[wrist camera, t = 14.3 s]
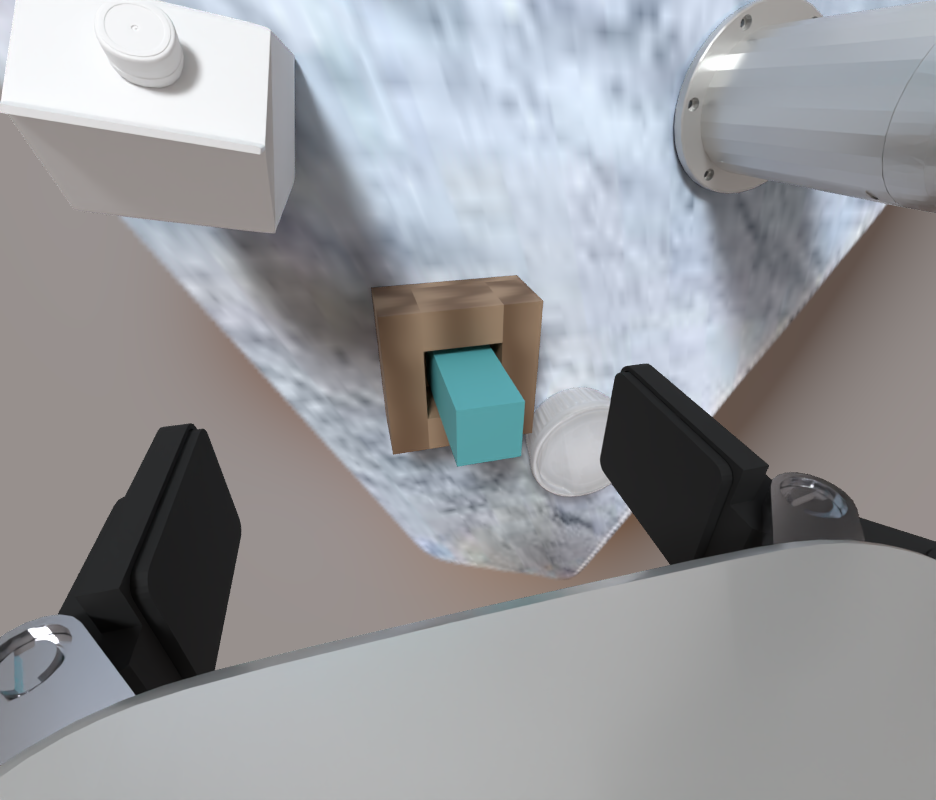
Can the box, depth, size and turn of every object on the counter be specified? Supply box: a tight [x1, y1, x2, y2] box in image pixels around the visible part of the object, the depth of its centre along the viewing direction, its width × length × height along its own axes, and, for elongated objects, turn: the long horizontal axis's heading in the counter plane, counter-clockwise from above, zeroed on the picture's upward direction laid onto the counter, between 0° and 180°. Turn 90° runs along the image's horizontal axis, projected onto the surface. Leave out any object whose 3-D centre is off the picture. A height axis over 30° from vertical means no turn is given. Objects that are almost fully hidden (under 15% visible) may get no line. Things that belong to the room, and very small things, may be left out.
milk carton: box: [0, 0, 295, 233], centre depth 22 cm, size 7×7×19 cm
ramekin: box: [526, 387, 611, 497], centre depth 48 cm, size 11×11×5 cm
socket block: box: [371, 275, 543, 454], centre depth 40 cm, size 12×12×6 cm
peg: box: [426, 344, 525, 467], centre depth 36 cm, size 4×4×12 cm
